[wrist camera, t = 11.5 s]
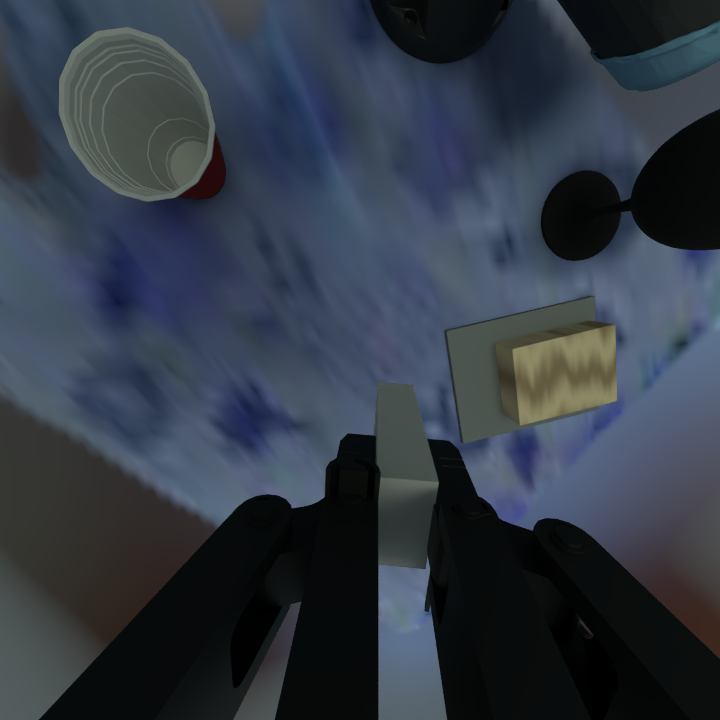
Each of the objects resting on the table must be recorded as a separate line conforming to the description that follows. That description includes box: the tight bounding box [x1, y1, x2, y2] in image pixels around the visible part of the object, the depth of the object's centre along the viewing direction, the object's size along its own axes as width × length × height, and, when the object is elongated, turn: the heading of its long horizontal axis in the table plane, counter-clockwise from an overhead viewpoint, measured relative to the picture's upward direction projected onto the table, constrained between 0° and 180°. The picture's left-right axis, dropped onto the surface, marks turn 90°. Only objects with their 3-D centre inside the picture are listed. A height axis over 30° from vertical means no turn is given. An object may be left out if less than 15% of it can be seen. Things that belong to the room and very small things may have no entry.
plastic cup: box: [59, 27, 226, 202], centre depth 29 cm, size 11×11×12 cm
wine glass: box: [541, 109, 720, 261], centre depth 31 cm, size 10×10×20 cm
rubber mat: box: [445, 296, 599, 444], centre depth 44 cm, size 16×20×1 cm
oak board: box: [495, 321, 617, 426], centre depth 42 cm, size 10×4×13 cm
